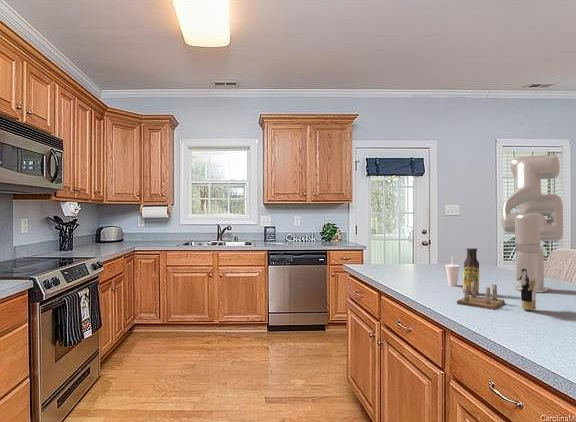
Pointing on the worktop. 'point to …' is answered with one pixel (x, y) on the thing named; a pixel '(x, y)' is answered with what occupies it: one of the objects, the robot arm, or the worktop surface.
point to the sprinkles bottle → (532, 304)
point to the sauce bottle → (471, 270)
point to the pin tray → (481, 298)
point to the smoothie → (452, 273)
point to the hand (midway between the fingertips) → (528, 299)
